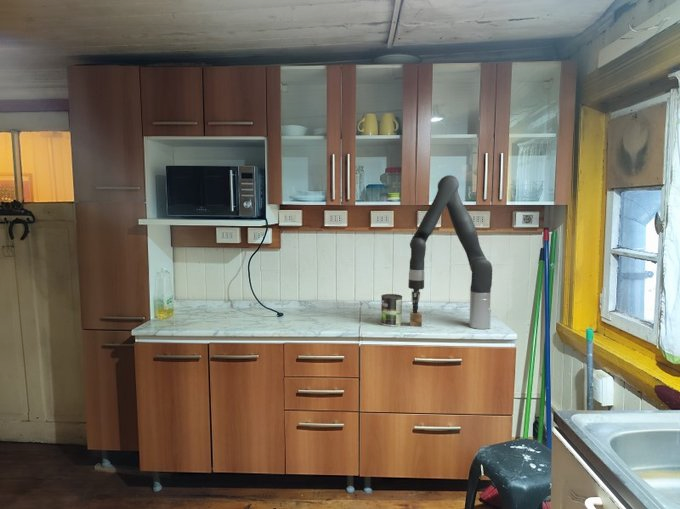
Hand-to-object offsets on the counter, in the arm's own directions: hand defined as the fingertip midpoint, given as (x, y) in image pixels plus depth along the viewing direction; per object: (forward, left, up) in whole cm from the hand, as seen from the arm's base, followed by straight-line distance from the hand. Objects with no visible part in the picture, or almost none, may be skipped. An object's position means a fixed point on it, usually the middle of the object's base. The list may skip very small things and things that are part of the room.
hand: (415, 311), depth 207 cm
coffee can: (+12, 0, -7) cm, 13 cm away
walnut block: (0, 0, -7) cm, 7 cm away
